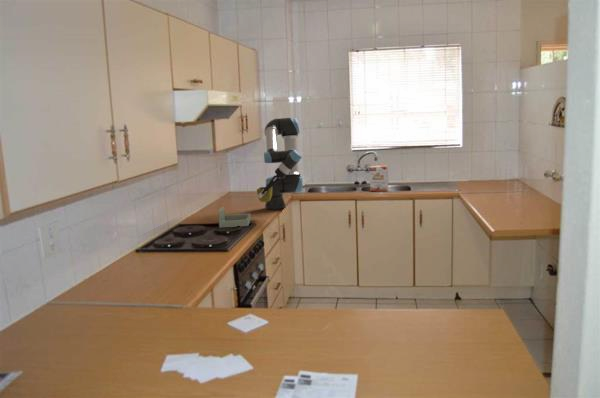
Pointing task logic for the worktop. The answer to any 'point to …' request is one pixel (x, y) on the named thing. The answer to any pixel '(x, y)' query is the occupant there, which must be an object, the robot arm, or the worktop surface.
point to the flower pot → (267, 195)
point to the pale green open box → (233, 219)
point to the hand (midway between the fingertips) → (260, 195)
